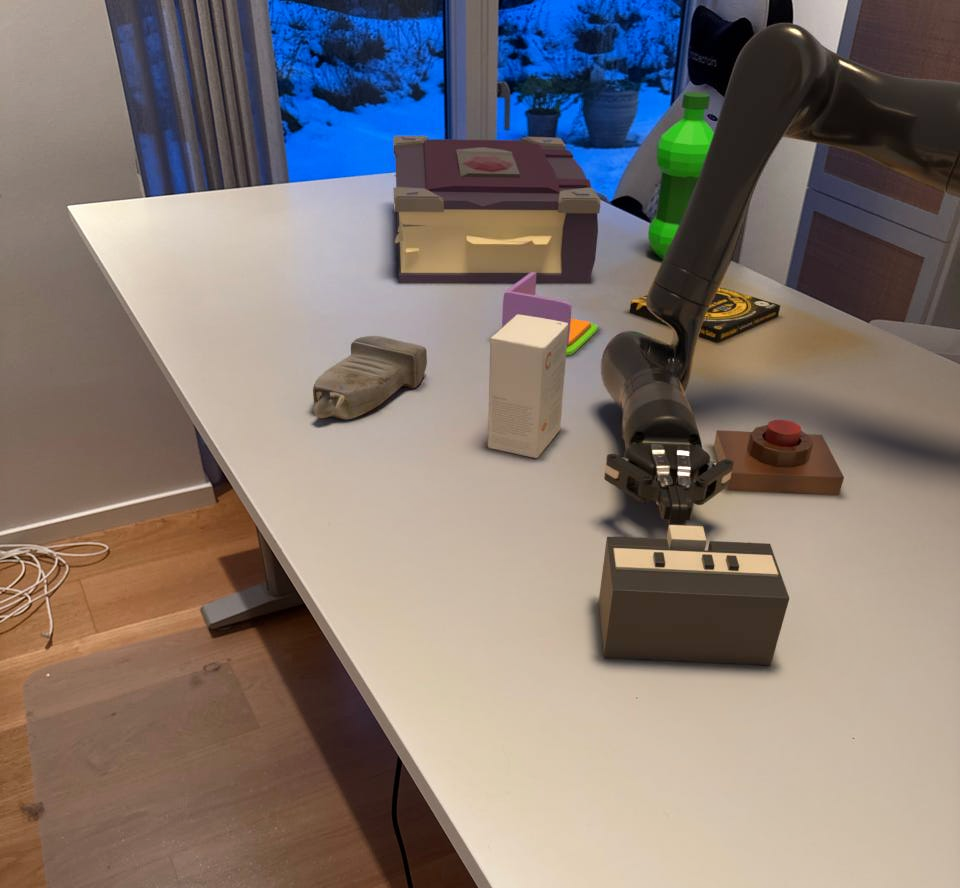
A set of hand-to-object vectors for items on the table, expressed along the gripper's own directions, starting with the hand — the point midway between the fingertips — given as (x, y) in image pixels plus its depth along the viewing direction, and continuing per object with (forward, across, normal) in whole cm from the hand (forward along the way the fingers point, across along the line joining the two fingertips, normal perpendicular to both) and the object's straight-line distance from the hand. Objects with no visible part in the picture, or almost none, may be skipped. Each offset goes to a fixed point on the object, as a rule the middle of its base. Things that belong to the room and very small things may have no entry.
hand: (678, 516), depth 87 cm
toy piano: (+9, 0, +6) cm, 11 cm away
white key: (+5, 0, +1) cm, 5 cm away
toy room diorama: (-59, -11, +6) cm, 60 cm away
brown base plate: (-21, +14, +6) cm, 26 cm away
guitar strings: (-70, +13, +6) cm, 72 cm away
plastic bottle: (-98, +11, +6) cm, 99 cm away
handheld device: (-36, -34, +6) cm, 50 cm away
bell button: (-21, +14, +2) cm, 25 cm away
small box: (-26, -14, +6) cm, 30 cm away
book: (-102, -21, +6) cm, 104 cm away
